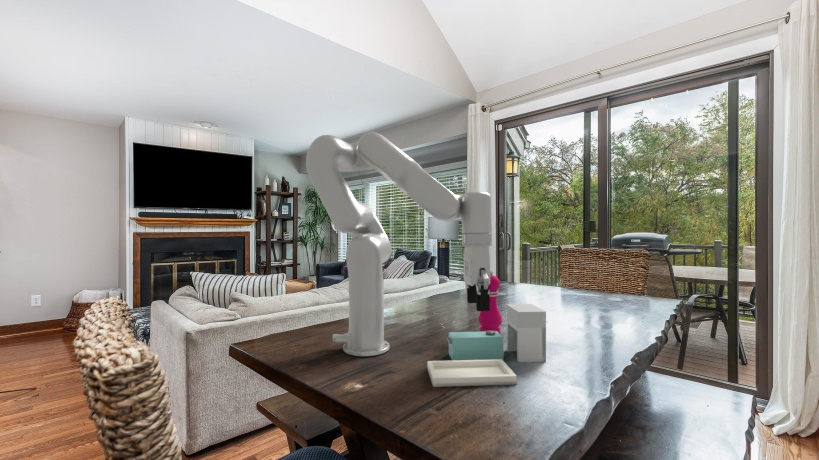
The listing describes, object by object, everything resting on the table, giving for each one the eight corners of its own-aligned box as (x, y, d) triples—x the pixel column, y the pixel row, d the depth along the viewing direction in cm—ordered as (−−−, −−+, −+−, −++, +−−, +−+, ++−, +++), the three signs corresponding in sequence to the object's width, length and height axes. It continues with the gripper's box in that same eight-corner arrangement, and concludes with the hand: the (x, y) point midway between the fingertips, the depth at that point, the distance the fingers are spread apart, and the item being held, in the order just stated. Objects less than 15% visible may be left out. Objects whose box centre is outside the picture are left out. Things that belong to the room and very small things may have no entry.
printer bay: (518, 362, 92) (518, 311, 92) (506, 350, 101) (506, 304, 101) (545, 361, 92) (546, 311, 92) (531, 349, 101) (531, 303, 101)
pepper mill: (500, 330, 120) (500, 268, 119) (503, 337, 112) (503, 271, 112) (477, 330, 120) (477, 268, 120) (479, 336, 113) (479, 271, 113)
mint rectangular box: (450, 362, 93) (450, 335, 93) (446, 355, 98) (446, 330, 98) (503, 360, 94) (503, 334, 94) (496, 353, 99) (496, 328, 99)
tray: (432, 386, 78) (432, 378, 78) (427, 368, 88) (427, 361, 88) (516, 384, 79) (516, 375, 79) (501, 366, 89) (501, 359, 89)
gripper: (455, 239, 104) (456, 300, 104) (470, 241, 86) (471, 315, 87) (482, 239, 104) (483, 299, 104) (501, 241, 87) (503, 313, 87)
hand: (478, 306), depth 95 cm, fingers open, 9 cm apart
